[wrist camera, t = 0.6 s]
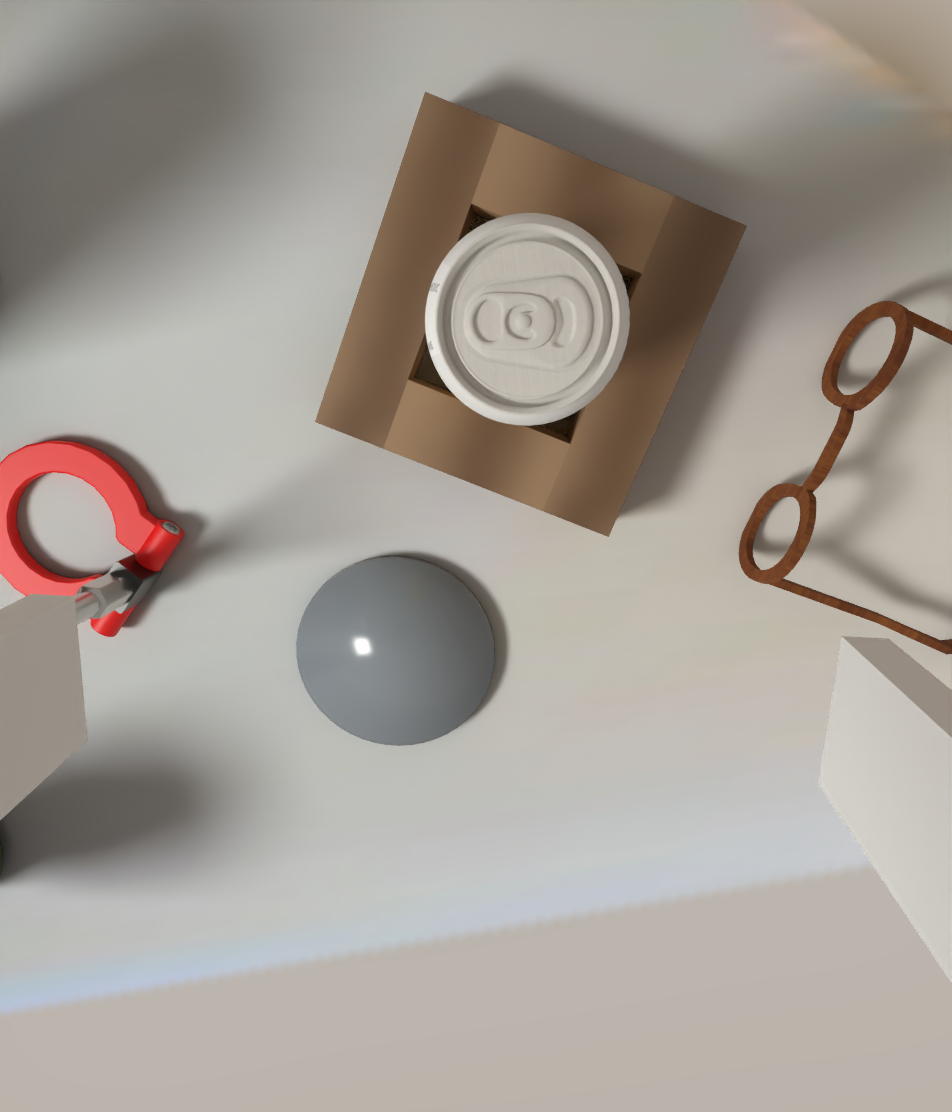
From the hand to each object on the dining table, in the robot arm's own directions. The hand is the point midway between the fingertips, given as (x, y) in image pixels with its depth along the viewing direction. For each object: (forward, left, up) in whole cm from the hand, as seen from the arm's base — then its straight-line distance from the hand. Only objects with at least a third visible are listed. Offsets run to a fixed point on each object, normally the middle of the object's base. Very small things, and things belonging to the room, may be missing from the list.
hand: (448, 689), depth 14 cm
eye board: (-1, +6, -26) cm, 27 cm away
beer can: (-1, +6, -27) cm, 27 cm away
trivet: (-1, -11, -26) cm, 28 cm away
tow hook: (-18, -11, -27) cm, 34 cm away
